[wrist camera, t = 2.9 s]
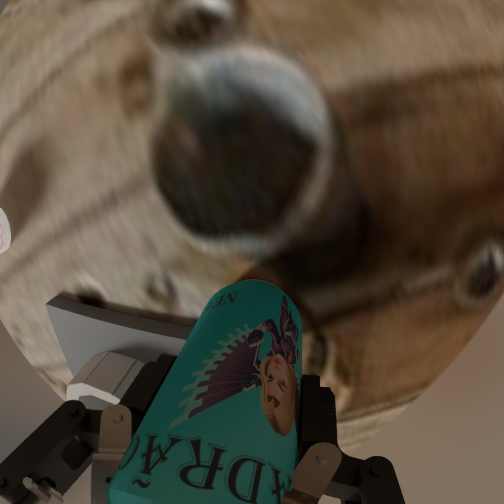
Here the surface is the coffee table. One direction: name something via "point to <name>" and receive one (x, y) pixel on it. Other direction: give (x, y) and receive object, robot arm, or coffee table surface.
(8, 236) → the beverage cup
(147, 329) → the mount plate
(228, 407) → the beverage can
